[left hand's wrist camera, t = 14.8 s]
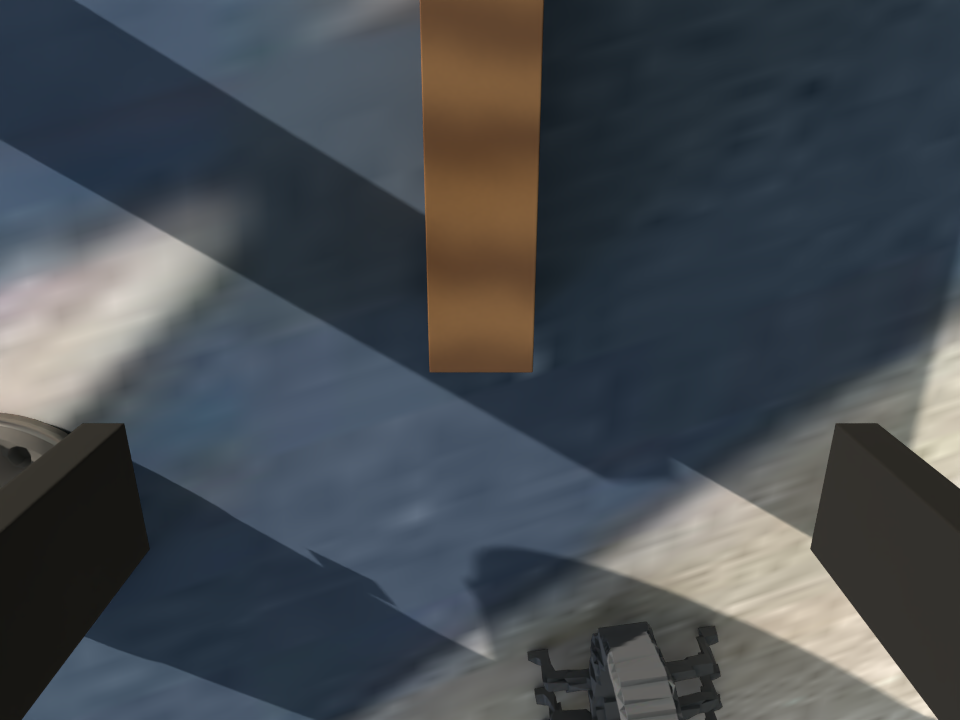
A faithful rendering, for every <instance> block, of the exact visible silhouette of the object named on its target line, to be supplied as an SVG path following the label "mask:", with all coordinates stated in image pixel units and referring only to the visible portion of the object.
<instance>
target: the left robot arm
mask: <svg viewBox="0 0 960 720" xmlns="http://www.w3.org/2000/svg"><path fill="white" fill-rule="evenodd" d="M149 549H150V548H149V543H148V539H147V534H146V529H145V524H144V519H143V514H142V509H141V504H140V499H139V494H138V489H137V484H136V479H135V474H134V469H133V464H132V459H131V455H130V450H129V445H128V440H127V435H126V430H125V425H124V423H83V424H81V425H80V426H79V427H78V428H76V429H75V430H74V431H72V432H71V433H70V434H67V433H65V432H64V431H62V430H60V429H58V428H55V427H53V426H51V425H49V424H46V423H43V422H41V421H38V420H35V419H31V418H28V417H24V416H19V415H14V414H6V413H0V720H22V718H23V717H24V716H25V714H26V713H27V712H28V710H29V709H30V708H31V706H32V705H33V704H34V702H35V701H36V700H37V698H38V697H39V696H40V694H41V693H42V692H43V690H44V689H45V688H46V686H47V685H48V684H49V682H50V681H51V680H52V678H53V677H54V676H55V674H56V673H57V672H58V670H59V669H60V668H61V666H62V665H63V664H64V662H65V661H66V660H67V658H68V657H69V656H70V654H71V653H72V652H73V650H74V649H75V648H76V646H77V645H78V644H79V642H80V641H81V640H82V638H83V637H84V636H85V634H86V633H87V632H88V630H89V629H90V628H91V626H92V625H93V624H94V622H95V621H96V620H97V618H98V617H99V616H100V614H101V613H102V612H103V610H104V609H105V608H106V606H107V605H108V604H109V602H110V601H111V600H112V598H113V597H114V596H115V594H116V593H117V592H118V590H119V589H120V588H121V586H122V585H123V584H124V582H125V581H126V580H127V578H128V577H129V576H130V574H131V573H132V572H133V571H134V569H135V568H136V567H137V565H138V564H139V563H140V561H141V560H142V559H143V557H144V556H145V555H146V553H147V552H148V551H149ZM810 549H811V551H812V552H813V553H814V555H815V556H816V557H817V559H818V560H819V561H820V563H821V564H822V565H823V567H824V568H825V569H826V570H827V572H828V573H829V574H830V576H831V577H832V578H833V580H834V581H835V582H836V584H837V585H838V586H839V588H840V589H841V590H842V592H843V593H844V594H845V596H846V597H847V598H848V600H849V601H850V602H851V604H852V605H853V606H854V608H855V609H856V610H857V612H858V613H859V614H860V616H861V617H862V618H863V620H864V621H865V622H866V624H867V625H868V626H869V628H870V629H871V630H872V632H873V633H874V634H875V636H876V637H877V638H878V640H879V641H880V642H881V644H882V645H883V646H884V648H885V649H886V650H887V652H888V653H889V654H890V656H891V657H892V658H893V660H894V661H895V662H896V664H897V665H898V666H899V668H900V669H901V670H902V672H903V673H904V674H905V676H906V677H907V678H908V680H909V681H910V682H911V684H912V685H913V686H914V688H915V689H916V690H917V692H918V693H919V694H920V696H921V697H922V698H923V700H924V701H925V702H926V704H927V705H928V706H929V708H930V709H931V710H932V712H933V713H934V714H935V716H936V717H937V718H938V720H960V489H959V488H958V487H957V486H956V485H954V484H953V483H952V482H951V481H949V480H948V479H947V478H946V477H944V476H943V475H942V474H941V473H939V472H938V471H937V470H935V469H934V468H933V467H932V466H930V465H929V464H928V463H927V462H925V461H924V460H923V459H922V458H920V457H919V456H918V455H917V454H915V453H914V452H913V451H911V450H910V449H909V448H908V447H906V446H905V445H904V444H903V443H901V442H900V441H899V440H898V439H896V438H895V437H894V436H893V435H891V434H890V433H889V432H888V431H886V430H885V429H884V428H882V427H881V426H880V425H879V424H877V423H836V425H835V430H834V435H833V440H832V445H831V450H830V455H829V459H828V464H827V469H826V474H825V479H824V484H823V489H822V494H821V499H820V504H819V509H818V514H817V519H816V524H815V529H814V534H813V539H812V543H811V548H810Z"/></svg>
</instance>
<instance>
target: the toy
mask: <svg viewBox="0 0 960 720" xmlns="http://www.w3.org/2000/svg"><path fill="white" fill-rule="evenodd" d="M698 630H699V636H698V637H696V639H697V641H698V643H699V647H700V650H701V652H700V653H698V654H699V655H695V656H690V657H687V658H686V659H685V660H680V661H673V662H667V663H665V661H664V658H663V656H662V654H661V652H660V649H659V648H658V647H657V645H656V641H655V639H654V636H653V632H652V629H651V627H650V625H649V624H648V623H647V622H640V623H633V624H626V625H618V626H611V627H603V628H598V633H596V634H593V636H592V640H591V658H590V664H589V669H584V670H561V671H555V670H554V668H553V667H552V665H551V662H550V659H549V655H548V649H545V650H538V651H531V652H528V660H529V661H531V662H533V663H535V664H537V665H540V666H541V669H542V678H543V684H544V688H536V689H535V697H536V702H537V704H540V705H547V706H549V712H550V720H686V719H689V718H691V717H693V716H694V715H696V714H698V713H705V716H706V718H705V720H717V718H716V716H715V713H714V711H716V710H719V709H721V708H722V707H723V706H722V703H721V701H720V694H718V695H717V693H716V690H715V688H714V686H713V683H712V680H714V679H717V678H719V677H721V675H720V670H719V667H718V664H716V662H715V659H714V657H713V654H712V651H711V649H710V647H709V646H710V645H712V644H715V643H717V642H718V637H717V632H716V628H715V626H711V627H704V628H698ZM713 664H714V665H713ZM696 677H700V680H701V682H702V685H703V686H701V692H698V693H694V694H690V695H686V696H682V697H678V696H677V691H676V687H675V684H674V682H676V681H681V680H686V679H691V678H696ZM563 690H566V693H569V692H574V691H580V690H588V695H589V701H590V712H589V711H588V710H587V709H583V710H567V711H564V710H562V709H561V702H559V703H557V701H556V696H555V694H554V692H553V691H563Z"/></svg>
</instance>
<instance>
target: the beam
mask: <svg viewBox="0 0 960 720" xmlns="http://www.w3.org/2000/svg"><path fill="white" fill-rule="evenodd" d="M543 15H544V0H420V29H421V67H422V104H423V142H424V180H425V218H426V255H427V293H428V331H429V368H430V372H533V346H534V312H535V279H536V246H537V213H538V180H539V147H540V114H541V81H542V48H543Z"/></svg>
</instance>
